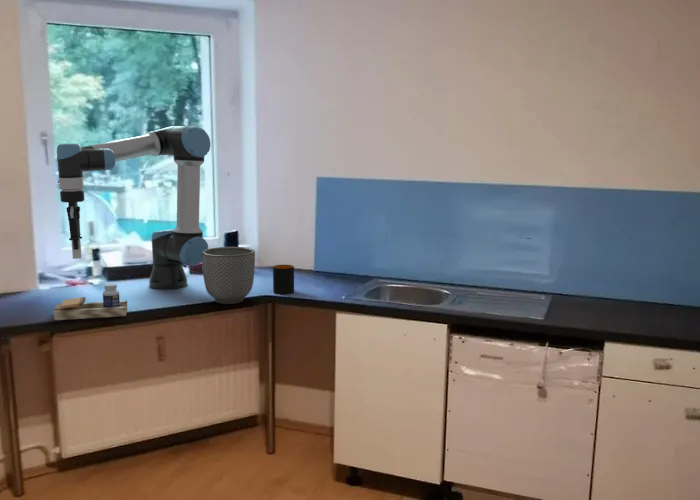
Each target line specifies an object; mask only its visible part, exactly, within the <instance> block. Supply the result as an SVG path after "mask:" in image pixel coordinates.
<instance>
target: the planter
mask: <svg viewBox="0 0 700 500" xmlns="http://www.w3.org/2000/svg"><path fill="white" fill-rule="evenodd" d="M201 257H202V262H201V266H202V275H203V281H204V282H203V283H204V286H205V290H206V292H207V293H208V295H209V296H210V297H212V298H213V299H214V301H215V302H216V303H217V304H221V305H232V304H233V305H234V304H240V303H242V302H244V301H245V298H246V297H247V296H248V295H249V294H250V292H252V289H253V286H254V281H255V270H256V268H255V267H256V251H255V249H253V248H250V247H244V246H243V247H242V246H219V247H211V248H210V247H209V248H208V249H206V250H203V251H202V255H201Z"/></svg>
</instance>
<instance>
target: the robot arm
mask: <svg viewBox="0 0 700 500" xmlns="http://www.w3.org/2000/svg"><path fill="white" fill-rule="evenodd" d="M211 145H212V144H211V139H210V137H209V135H208V132H206V130H205V129H204V128H202V127H199V126H195V125H173V126H168V127H165V128H161V129H157V130H152V131H149V132H147V133H146V134H145V135H139V136H135V137H128V138H124V139H123V138H122V139H118V140H113V141H107V142H102V143H98V144H92V145H86V146H81V145H80V144H79V143H61V144H60V143H59V144H58V145H57V147H56V159H57V171H58V179H59V180H57V182H56V183H57V184H59V190H60V192H59V195H60V201H61V202H62V203H68V204H67V205H68V206H66V213H67V220H68V226H69V235H70V238H68V240H69V241H71V252H72V259H73V260H76V259H82V246H81V245H82V244H81V243H82V242H81V239H83V236H81V235H82V233H81V224H80V221H81V220H80V219H81V215H80V212H81V206H79V205H78V203H81V202H84V201H85V191H84V190H83V189H84V177H83V172H85V173H86V172H98V171H101V172H102V171H104V172H105V171H110V170H113V169H114V168H115V166H116V162H119V161H120V162H121V161H125V160H129V159H135V158H140V157H144V156H145V157H146V156H150V155H151V156H153V157H157V156H173V162H174V163H175V164H176V165H177V179H176V180H177V181H176V182H177V183H176V184H177V186H176V187H177V188H176V226H175V228H171V229H162V230H155V231H153V232H152V233H151V248H152V250H151V252H152V254H151V255H152V270H151V273H150V277H149V280H148V282H149V283H148V285H149V287H150V288H152V289H155V290H156V289H157V290H170V289H171V290H172V289H180V288H183V287H186V286H188V278H187V275H186V273H185V270H184V266H191V267H192V266H198V265H200V264H202V257H201V255H202V251H203V250H206V249H209V244H208V242H207V240H206V239H205V238H204V237H203V236H204V234H203V233H204V231H203V230H202V228H201V227H200V198H201V197H200V196H201V195H200V193H201V191H200V190H201V189H200V187H201V185H200V181H201V166H202V164H204V163H205V156H207V155H208V153H209V152H210V149H211ZM183 265H184V266H183Z"/></svg>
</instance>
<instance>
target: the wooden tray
mask: <svg viewBox="0 0 700 500" xmlns="http://www.w3.org/2000/svg"><path fill="white" fill-rule="evenodd" d="M119 301H120V307H107V308H103V301H97V302H96V301H94V302H93V301H92V302H84V304H83V305H82V306H76V307H69V308H62V309H61V304H62V303H57V304H56V306H55V307H54V309H53V321H62V320H79V319H81V320H83V319H95V318H96V319H97V318H99V319H101V318H111V317H112V318H114V317H115V318H116V317H126V316H127V313H128V300H119Z"/></svg>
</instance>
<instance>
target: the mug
mask: <svg viewBox="0 0 700 500" xmlns="http://www.w3.org/2000/svg"><path fill="white" fill-rule="evenodd" d="M272 283H273V284H272V292H273V294H275V295H279V294H280V295H281V296H282V295H292V294H294V293H295V266H294V265H291V264H277V265H276V264H275V265H274V266H272Z"/></svg>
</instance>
